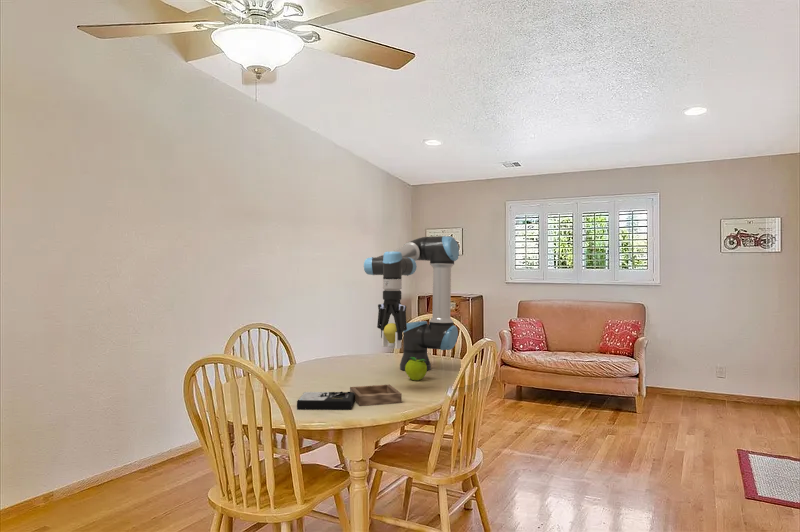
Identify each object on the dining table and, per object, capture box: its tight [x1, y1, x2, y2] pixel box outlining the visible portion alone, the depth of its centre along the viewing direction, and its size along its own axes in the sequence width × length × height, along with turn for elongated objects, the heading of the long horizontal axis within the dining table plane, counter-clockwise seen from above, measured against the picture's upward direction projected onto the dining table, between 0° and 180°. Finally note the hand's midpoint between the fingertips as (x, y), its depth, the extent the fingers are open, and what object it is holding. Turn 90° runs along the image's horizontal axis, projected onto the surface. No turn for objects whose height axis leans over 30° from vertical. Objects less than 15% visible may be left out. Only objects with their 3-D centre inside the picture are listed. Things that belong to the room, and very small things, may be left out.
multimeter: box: [296, 391, 355, 411], centre depth 196 cm, size 13×19×5 cm
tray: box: [349, 383, 403, 407], centre depth 205 cm, size 16×16×3 cm
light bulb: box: [384, 322, 397, 349], centre depth 216 cm, size 7×7×10 cm
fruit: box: [404, 357, 428, 381], centre depth 239 cm, size 9×9×10 cm
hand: (391, 347), depth 216 cm, fingers closed on light bulb, 7 cm apart
